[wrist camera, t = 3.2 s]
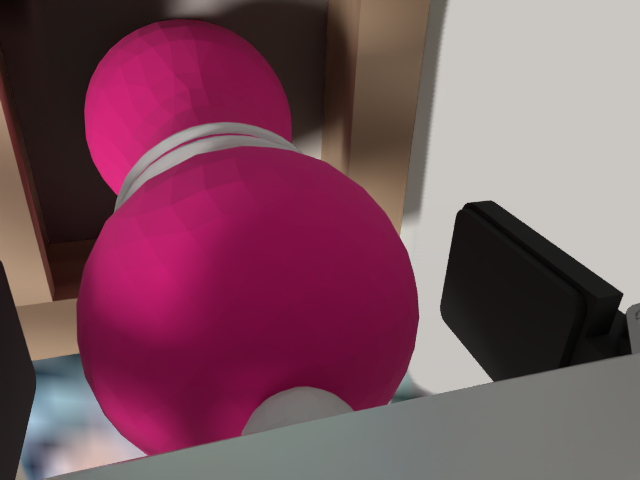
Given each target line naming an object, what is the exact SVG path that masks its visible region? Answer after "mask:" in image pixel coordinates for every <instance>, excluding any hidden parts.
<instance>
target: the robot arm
mask: <svg viewBox="0 0 640 480" xmlns="http://www.w3.org/2000/svg"><path fill="white" fill-rule="evenodd" d="M622 297H623V293H622V292H620V291H619V290H617V289H616V288H615V287H613V286H612V285H610V284H609V283H608V282H606V281H605V280H603V279H602V278H601V277H599V276H598V275H596V274H595V273H594V272H592V271H591V270H589V269H588V268H586V267H585V266H584V265H582V264H581V263H579V262H578V261H577V260H575V259H574V258H572V257H571V256H569V255H568V254H567V253H565V252H564V251H562V250H561V249H560V248H558V247H557V246H556V245H554V244H553V243H551V242H550V241H548V240H547V239H546V238H544V237H543V236H541V235H540V234H539V233H537V232H536V231H534V230H533V229H532V228H530V227H529V226H527V225H526V224H525V223H523V222H522V221H520V220H519V219H517V218H516V217H515V216H513V215H512V214H510V213H509V212H508V211H506V210H505V209H503V208H502V207H501V206H499V205H498V204H496V203H495V202H493V201H481V202H471V203H467V204H465V205H464V207H463V208H462V210H460V211H458V213H457V215H456V220H455V225H454V231H453V237H452V242H451V248H450V253H449V259H448V265H447V270H446V276H445V282H444V287H443V294H442V299H441V305H440V311H441V316H442V318H443V320H444V322H445V323H446V324H447V325H448V327H449V328H450V329H451V330H452V332H453V333H454V334H455V335H456V336H457V338H458V339H459V340H460V341H461V343H462V344H463V345H464V346H465V347H466V348H467V350H468V351H469V352H470V353H471V355H472V356H473V357H474V358H475V359H476V361H477V362H478V363H479V364H480V366H481V367H482V368H483V369H484V370H485V372H486V373H487V374H488V375H489V377H490V378H491V379H492V380H493V381H494V382H492V383H487V384H482V385H478V386H473V387H468V388H463V389H459V390H454V391H449V392H445V393H440V394H435V395H430V396H426V397H421V398H416V399H412V400H407V401H402V402H398V403H393V404H388V405H383V406H379V407H374V408H369V409H365V410H360V411H355V412H350V413H346V414H341V415H336V416H331V417H327V418H322V419H317V420H313V421H308V422H303V423H298V424H294V425H289V426H284V427H279V428H275V429H270V430H265V431H261V432H256V433H251V434H246V435H242V436H237V437H232V438H228V439H223V440H218V441H214V442H209V443H205V444H200V445H195V446H191V447H186V448H182V449H177V450H172V451H168V452H163V453H159V454H154V455H149V456H145V457H140V458H136V459H131V460H126V461H122V462H117V463H113V464H108V465H103V466H99V467H94V468H90V469H85V470H80V471H76V472H71V473H67V474H62V475H58V476H54V477H50V478H46V479H42V480H640V303H638V304H635V305H632V306H631V307H629V308H628V309H627V311H626V314H623V313H622V312H621V311H619V310H618V307H619V305H620V302H621V299H622ZM35 391H36V376H35V371H34V367H33V364H32V360H31V357H30V354H29V350H28V347H27V344H26V340H25V337H24V333H23V330H22V327H21V323H20V320H19V317H18V313H17V310H16V306H15V303H14V300H13V296H12V293H11V289H10V286H9V283H8V279H7V276H6V273H5V269H4V266H3V263H2V262H1V260H0V480H15V478H16V473H17V469H18V465H19V460H20V456H21V452H22V447H23V443H24V439H25V434H26V430H27V426H28V421H29V417H30V413H31V408H32V404H33V400H34V395H35Z"/></svg>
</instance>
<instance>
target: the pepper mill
mask: <svg viewBox="0 0 640 480" xmlns="http://www.w3.org/2000/svg"><path fill="white" fill-rule="evenodd" d="M84 114H85V131H86V140H87V143H88V147H89V150H90V153H91V156H92V160H93V162H94V164H95V166H96V167H97V169H98V171H99V172H100V174H101V176H102V177H103V179H104V180H105V182H106V183H107V184H108V185H109V186H110V188H111V189H112V190H113V191H114V193H115V194H116V195H118V197H117V200H116V205H115V210H114V213H113V214H112V215H111V216H110V217H109V218H108V219H107V220H106V222H105V224H104V226H103V228H102V230H101V232H100V235H99V237H98V239H97V241H96V243H95V245H94V247H93V249H92V251H91V253H90V255H89V257H88V260H87V262H86V264H85V266H84V270H83V275H82V280H81V284H80V289H79V294H78V298H77V303H76V314H77V343H78V348H79V352H80V356H81V361H82V365H83V370H84V374H85V378H86V380H87V382H88V384H89V385H90V387H91V389H92V391H93V393H94V395H95V397H96V399H97V401H98V403H99V405H100V407H101V409H102V411H103V413H104V415H105V416H106V417H107V418H108V420H109V421H110V422H111V423H112V424H113V425H114V427H115V428H116V429H117V430H118V431H119V433H120V434H121V435H122V436H123V437H125V438H126V439H127V440H129V441H130V442H131V443H132V444H134V445H135V446H136V447H138V448H139V449H140V450H141V451H143V452H144V453H145V454H147V455H148V456H149V455H154V454H159V453H163V452H168V451H172V450H177V449H182V448H186V447H191V446H195V445H200V444H205V443H209V442H214V441H218V440H223V439H228V438H232V437H237V436H242V435H246V434H251V433H256V432H261V431H265V430H270V429H275V428H279V427H284V426H289V425H294V424H298V423H303V422H308V421H313V420H317V419H322V418H327V417H331V416H336V415H341V414H346V413H350V412H355V411H360V410H365V409H369V408H374V407H379V406H383V405H387V404H388V403H389V401H390V400H391V399H392V397H393V395H394V394H395V392H396V390H397V388H398V386H399V385H400V383H401V381H402V379H403V377H404V376H405V374H406V372H407V369H408V366H409V363H410V360H411V357H412V353H413V351H414V348H415V341H416V334H417V328H418V322H419V308H418V294H417V287H416V282H415V277H414V273H413V269H412V266H411V262H410V259H409V255H408V252H407V250H406V248H405V246H404V244H403V242H402V241H401V239H400V237H399V235H398V233H397V231H396V230H395V228H394V226H393V224H392V222H391V220H390V219H389V217H388V216H387V214H386V213H385V211H384V210H383V209H382V208H381V207H380V206H379V205H378V204H377V203H376V201H375V200H374V199H373V198H372V197H371V196H370V195H369V194H368V192H367V191H366V190H365V189H364V188H363V187H362V186H360V185H359V184H357V183H356V182H354V181H353V180H352V179H350V178H349V177H347V176H346V175H344V174H343V173H342V172H340V171H339V170H337V169H336V168H334V167H333V166H331V165H330V164H329V163H327V162H325V161H322V160H319V159H316V158H313V157H310V156H307V155H304V154H302V153H301V151H300V150H298V149H297V148H296V147H295V146H294V145H293V144H292V123H291V112H290V108H289V104H288V100H287V96H286V94H285V91H284V89H283V87H282V85H281V82H280V80H279V79H278V77H277V76H276V74H275V72H274V71H273V69H272V67H271V66H270V65H269V63H268V62H267V61H266V59H265V58H264V57H263V55H262V54H261V53H260V52H259V51H258V50H257V49H256V48H255V47H254V46H253V45H252V44H251V43H249V42H248V41H246V40H245V39H243V38H242V37H241V36H239V35H238V34H236V33H234V32H232V31H230V30H228V29H226V28H224V27H222V26H219V25H215V24H212V23H208V22H205V21H201V20H188V19H172V20H164V21H159V22H154V23H151V24H149V25H146V26H144V27H142V28H139V29H137V30H135V31H134V32H132V33H130V34H129V35H127V36H125V37H124V38H122V39H121V40H120V41H119V42H118V43H117V44H115V45H114V46H113V47H112V48H111V49H110V50H109V51H108V52H107V54H106V55H105V56H104V57H103V59H102V60H101V61H100V62H99V64H98V66H97V68H96V70H95V72H94V74H93V75H92V77H91V80H90V83H89V87H88V90H87V93H86V100H85V108H84Z"/></svg>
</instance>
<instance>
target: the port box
mask: <svg viewBox="0 0 640 480" xmlns="http://www.w3.org/2000/svg"><path fill="white" fill-rule="evenodd" d="M429 6H430V0H328V14H327V38H326V61H325V85H324V108H323V132H322V155H321V160H322V161H325V162H327V163H329V164H330V165H331V166H333V167H334V168H336V169H337V170H339V171H340V172H342V173H343V174H344V175H346V176H347V177H349V178H350V179H352V180H353V181H354V182H356V183H357V184H359V185H360V186H362V187H363V188H364V189H365V190H366V191H367V192H368V194H369V195H370V196H371V197H372V198H373V199H374V200H375V201H376V203H377V204H378V205H379V206H380V207H381V208H382V209H383V210H384V211H385V213H386V214H387V216H388V217H389V219H390V220H391V222H392V224H393V226H394V228H395V230H396V231H397V233H398V235H399V237H400V230H401V222H402V214H403V207H404V199H405V191H406V184H407V176H408V168H409V160H410V153H411V145H412V137H413V130H414V122H415V114H416V107H417V99H418V91H419V83H420V76H421V68H422V60H423V53H424V45H425V37H426V29H427V22H428V14H429ZM96 241H97V239H91V240H81V241H72V242H63V243H53V244H49V239H48V235H47V231H46V227H45V223H44V219H43V215H42V211H41V207H40V203H39V199H38V195H37V191H36V187H35V183H34V178H33V174H32V170H31V166H30V162H29V158H28V154H27V150H26V146H25V142H24V138H23V134H22V130H21V126H20V122H19V117H18V113H17V109H16V105H15V101H14V97H13V93H12V89H11V85H10V81H9V77H8V73H7V69H6V65H5V61H4V56H3V52H2V48H1V44H0V260H1V262H2V263H3V266H4V269H5V273H6V276H7V279H8V283H9V286H10V289H11V293H12V296H13V300H14V303H15V306H16V310H17V313H18V317H19V320H20V323H21V327H22V330H23V333H24V337H25V340H26V344H27V347H28V350H29V354H30V357H31V360H32V361H33V360H40V359H46V358H52V357H58V356H64V355H70V354H76V353H80V352H79V348H78V343H77V314H76V303H77V298H78V294H79V289H80V284H81V280H82V275H83V270H84V266H85V264H86V262H87V260H88V257H89V255H90V253H91V251H92V249H93V247H94V245H95V243H96Z"/></svg>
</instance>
